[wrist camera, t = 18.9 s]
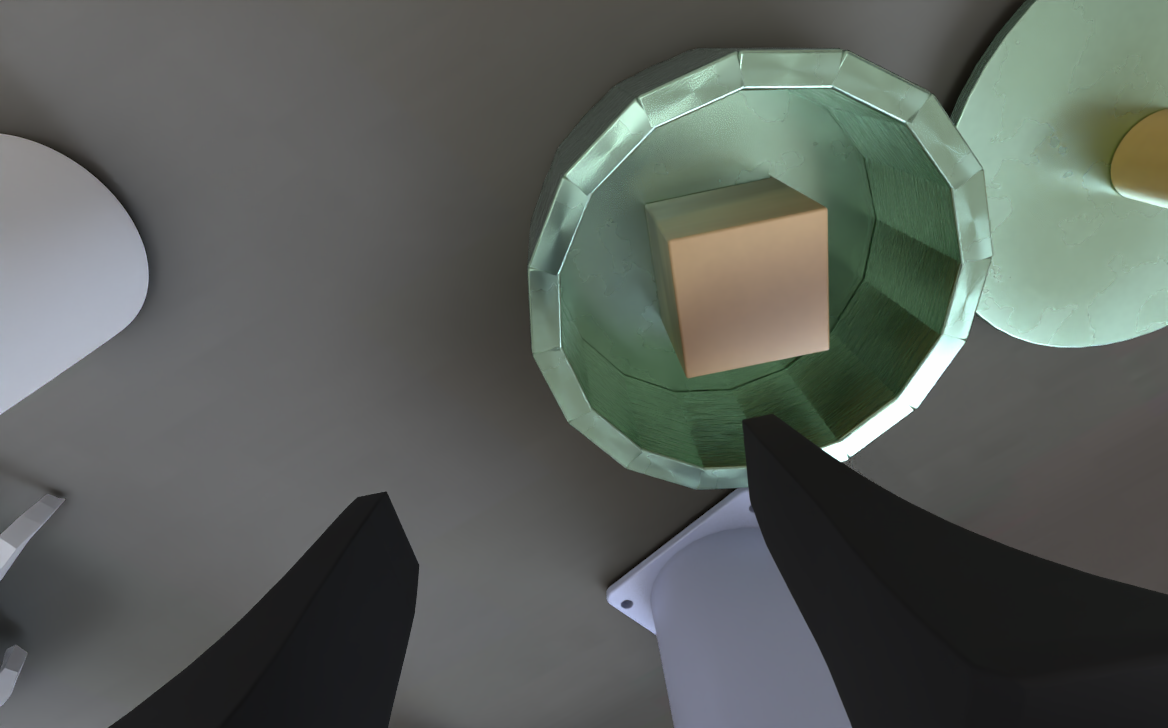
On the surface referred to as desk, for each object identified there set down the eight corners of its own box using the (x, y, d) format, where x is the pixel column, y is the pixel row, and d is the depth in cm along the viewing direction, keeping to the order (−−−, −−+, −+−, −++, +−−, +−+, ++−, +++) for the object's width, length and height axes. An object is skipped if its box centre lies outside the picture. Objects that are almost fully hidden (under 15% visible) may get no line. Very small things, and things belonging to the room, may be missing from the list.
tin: (958, 243, 20) (1071, 297, 16) (693, 458, 24) (727, 550, 19) (739, -55, 16) (811, -92, 12) (456, 255, 20) (431, 315, 15)
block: (643, 203, 19) (667, 240, 15) (774, 176, 19) (828, 207, 15) (661, 322, 21) (686, 379, 17) (780, 298, 21) (830, 350, 17)
